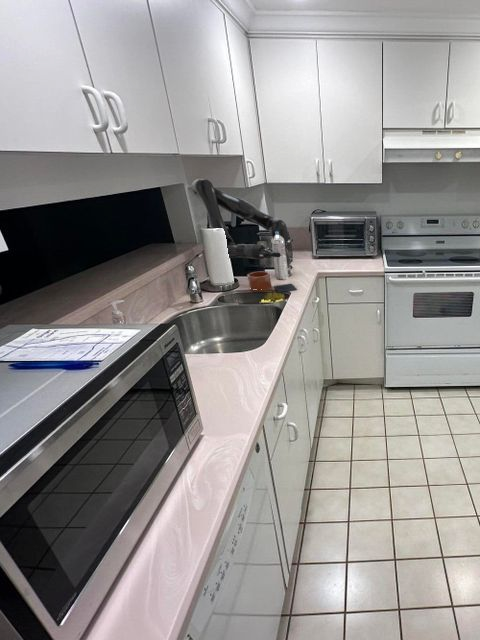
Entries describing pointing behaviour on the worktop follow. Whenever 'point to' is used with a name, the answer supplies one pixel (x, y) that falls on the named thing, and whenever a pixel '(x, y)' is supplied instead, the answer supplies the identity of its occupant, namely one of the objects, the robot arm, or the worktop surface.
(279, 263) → the water bottle
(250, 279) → the pot
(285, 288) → the dish mat
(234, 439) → the worktop surface
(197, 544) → the worktop surface
